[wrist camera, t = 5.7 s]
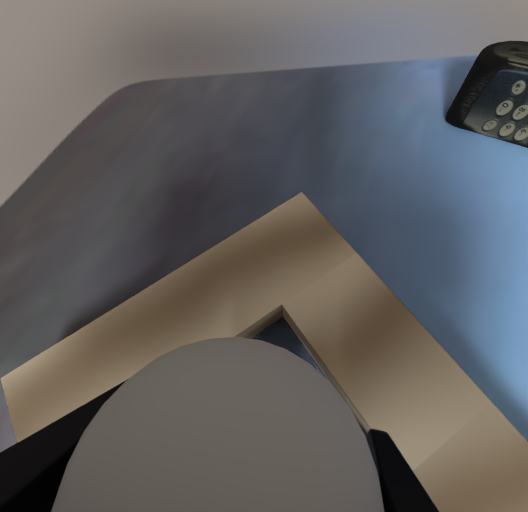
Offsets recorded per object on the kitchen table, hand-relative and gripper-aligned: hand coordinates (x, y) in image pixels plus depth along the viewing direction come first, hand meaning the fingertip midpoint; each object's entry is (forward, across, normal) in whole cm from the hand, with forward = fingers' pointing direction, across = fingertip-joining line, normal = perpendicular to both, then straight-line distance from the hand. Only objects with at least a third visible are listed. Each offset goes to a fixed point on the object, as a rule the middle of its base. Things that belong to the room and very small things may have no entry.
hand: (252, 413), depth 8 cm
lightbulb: (+4, 0, +6) cm, 7 cm away
